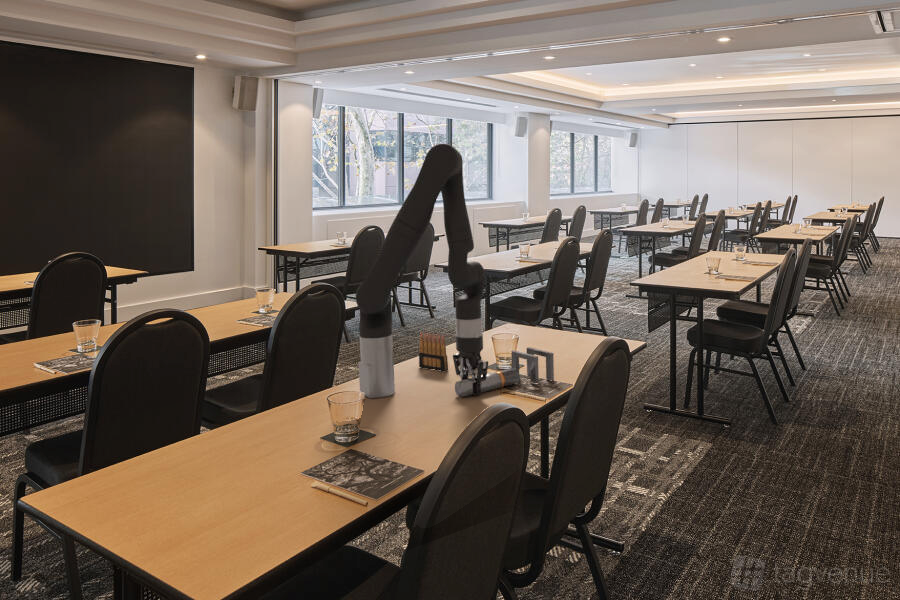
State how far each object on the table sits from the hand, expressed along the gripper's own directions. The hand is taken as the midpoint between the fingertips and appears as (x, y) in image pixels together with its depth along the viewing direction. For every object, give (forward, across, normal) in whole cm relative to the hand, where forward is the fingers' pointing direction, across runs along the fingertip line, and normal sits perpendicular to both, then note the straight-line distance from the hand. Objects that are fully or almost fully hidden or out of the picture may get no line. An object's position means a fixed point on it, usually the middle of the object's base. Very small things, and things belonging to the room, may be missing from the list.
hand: (471, 392), depth 208 cm
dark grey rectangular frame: (+1, 0, +26) cm, 26 cm away
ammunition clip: (+1, -31, +8) cm, 32 cm away
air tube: (+1, 0, +6) cm, 6 cm away
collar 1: (+1, 0, +20) cm, 20 cm away
